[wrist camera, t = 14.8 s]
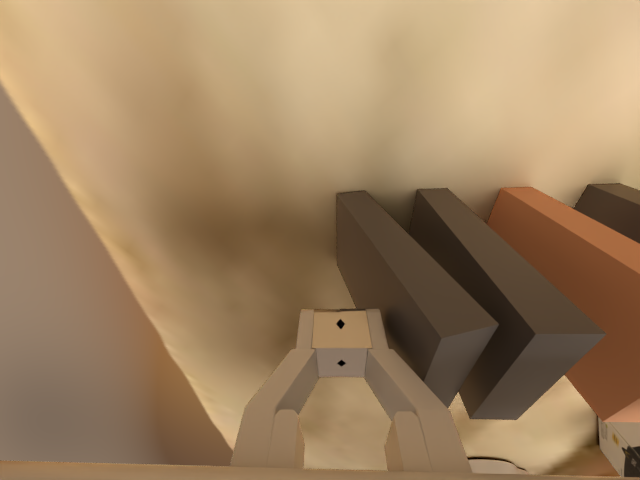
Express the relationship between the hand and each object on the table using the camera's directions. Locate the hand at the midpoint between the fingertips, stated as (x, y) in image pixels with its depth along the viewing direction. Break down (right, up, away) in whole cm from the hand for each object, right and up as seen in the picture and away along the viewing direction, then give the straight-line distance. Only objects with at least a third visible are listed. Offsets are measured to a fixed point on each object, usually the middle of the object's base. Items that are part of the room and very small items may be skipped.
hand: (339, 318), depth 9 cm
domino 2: (+5, +4, +5) cm, 8 cm away
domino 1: (+1, +4, +5) cm, 6 cm away
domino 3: (+10, +4, +5) cm, 12 cm away
